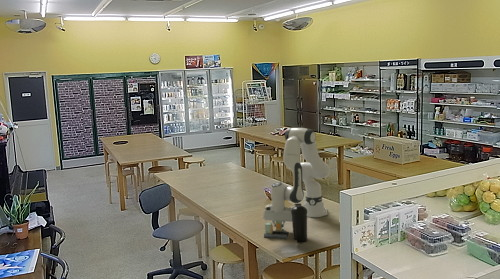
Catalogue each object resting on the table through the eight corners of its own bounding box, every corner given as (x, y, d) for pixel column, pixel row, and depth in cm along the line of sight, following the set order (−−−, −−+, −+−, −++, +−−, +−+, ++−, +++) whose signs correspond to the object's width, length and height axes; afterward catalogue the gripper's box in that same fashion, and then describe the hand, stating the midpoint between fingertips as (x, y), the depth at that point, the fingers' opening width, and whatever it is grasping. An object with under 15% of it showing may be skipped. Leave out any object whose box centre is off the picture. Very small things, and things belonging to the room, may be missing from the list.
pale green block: (277, 230, 294) (276, 218, 293) (282, 230, 293) (282, 219, 291) (275, 232, 290) (275, 220, 289) (281, 232, 289) (280, 221, 288)
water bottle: (305, 236, 280) (304, 202, 276) (310, 242, 270) (309, 206, 266) (290, 238, 278) (288, 203, 275) (294, 244, 268) (293, 208, 265)
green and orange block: (265, 236, 281) (265, 224, 280) (267, 234, 285) (266, 222, 283) (271, 236, 280) (271, 224, 279) (273, 234, 283) (272, 222, 282)
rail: (267, 234, 288) (267, 229, 288) (289, 235, 283) (289, 230, 283) (263, 239, 279) (263, 235, 278) (286, 241, 274) (285, 236, 273)
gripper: (294, 206, 289) (295, 226, 291) (265, 204, 295) (266, 224, 297) (292, 209, 283) (293, 229, 285) (262, 207, 289) (263, 227, 291)
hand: (279, 226), depth 291 cm, fingers closed on pale green block, 4 cm apart
